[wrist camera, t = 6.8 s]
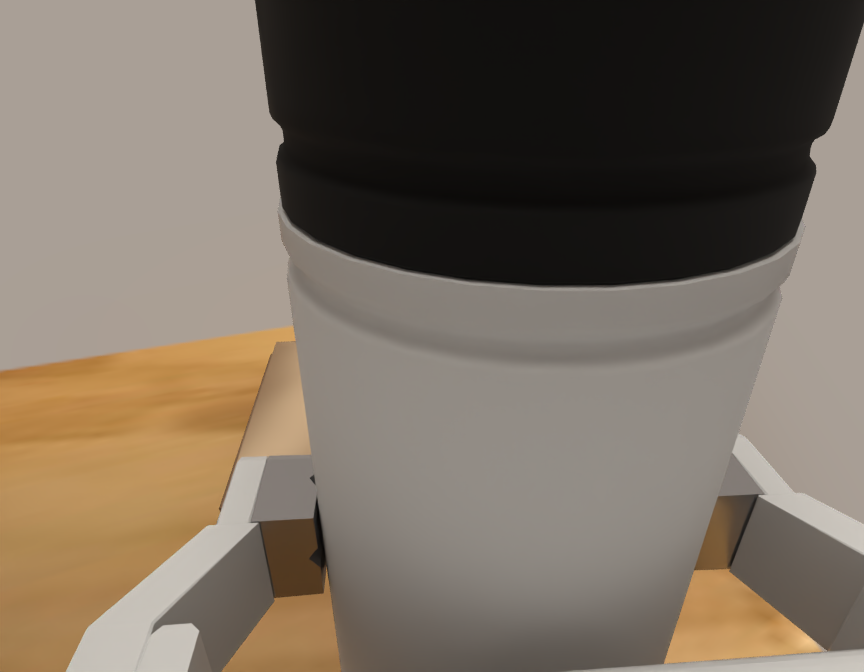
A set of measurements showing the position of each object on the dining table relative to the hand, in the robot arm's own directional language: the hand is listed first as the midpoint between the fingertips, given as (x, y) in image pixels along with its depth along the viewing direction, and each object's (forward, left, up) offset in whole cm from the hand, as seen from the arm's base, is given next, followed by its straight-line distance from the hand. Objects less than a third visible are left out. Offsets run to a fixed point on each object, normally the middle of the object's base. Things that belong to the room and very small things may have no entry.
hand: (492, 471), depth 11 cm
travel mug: (0, -1, -11) cm, 11 cm away
